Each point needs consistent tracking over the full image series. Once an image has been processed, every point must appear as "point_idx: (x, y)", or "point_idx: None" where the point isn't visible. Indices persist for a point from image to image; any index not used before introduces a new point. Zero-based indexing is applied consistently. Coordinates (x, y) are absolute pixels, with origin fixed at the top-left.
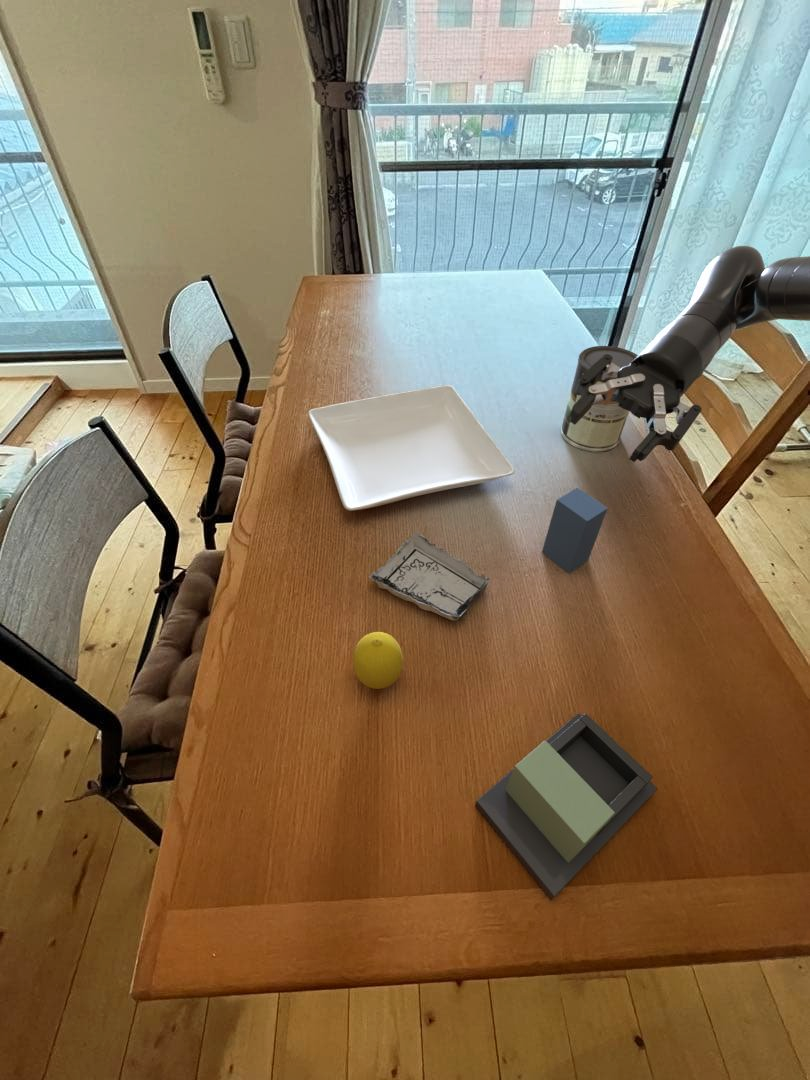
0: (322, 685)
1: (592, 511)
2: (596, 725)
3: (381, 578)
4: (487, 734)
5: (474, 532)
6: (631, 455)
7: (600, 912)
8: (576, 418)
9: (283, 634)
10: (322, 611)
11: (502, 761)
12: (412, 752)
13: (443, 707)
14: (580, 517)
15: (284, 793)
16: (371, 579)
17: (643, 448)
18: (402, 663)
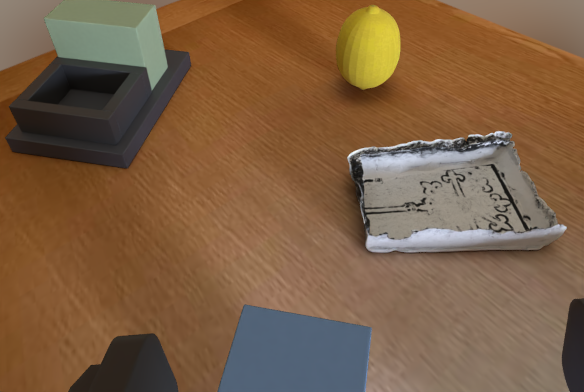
0: (401, 60)
1: (250, 352)
2: (89, 115)
3: (492, 138)
4: (217, 108)
5: (511, 364)
6: (166, 360)
7: None
8: (570, 316)
9: (492, 69)
10: (498, 104)
11: (187, 99)
12: (273, 65)
13: (279, 103)
14: (269, 309)
15: (335, 10)
16: (500, 132)
17: (102, 362)
18: (342, 56)
